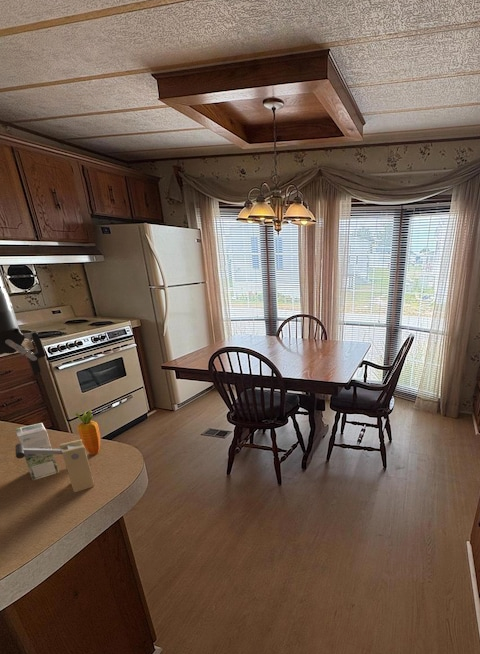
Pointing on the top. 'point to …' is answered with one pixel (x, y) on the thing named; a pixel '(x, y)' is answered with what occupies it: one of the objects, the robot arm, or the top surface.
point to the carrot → (89, 433)
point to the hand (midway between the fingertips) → (13, 377)
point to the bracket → (77, 465)
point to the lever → (37, 450)
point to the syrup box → (37, 439)
